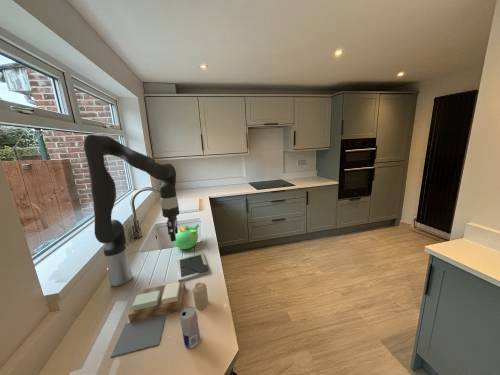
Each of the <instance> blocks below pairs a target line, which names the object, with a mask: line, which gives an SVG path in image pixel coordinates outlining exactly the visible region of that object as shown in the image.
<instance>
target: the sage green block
mask: <svg viewBox="0 0 500 375" xmlns="http://www.w3.org/2000/svg"><path fill="white" fill-rule="evenodd" d="M136 296H137V297H135V298H134V301H133V303H132V305H131V307H133V311H135V310H140V309H144V308H149V307H153V306H157V305H158V302H159V298H160V290H159V291H154V292H150V293H145V294H140V295H137V294H136Z"/></svg>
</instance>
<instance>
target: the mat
mask: <svg viewBox="0 0 500 375" xmlns="http://www.w3.org/2000/svg"><path fill="white" fill-rule="evenodd" d="M166 317H167V315H166V314H164V315H160V316H155V317H151V318H147V319H142V320H138V321H134V322H130V321H129V322H126V323H125V324H124V326H123V328H122V331H121V333H120V334H119V338H118V339H117V341H116V345H115V346H114V348H113V350H112V352H111V355H110V358H114V357H115V358H116V357H118V356H122V354H123V355H127V354H130V353H129V352H131V353H134V352H137V350H138V351H141V349H142V350H144V349H145V350H146V349H149V348H153V347H157V346H159V345H160V341H161V337H162V333H163V331H164V330H163V329H164V324H165V320H166ZM133 351H134V352H133ZM126 353H127V354H126Z"/></svg>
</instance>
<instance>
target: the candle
mask: <svg viewBox="0 0 500 375" xmlns="http://www.w3.org/2000/svg"><path fill="white" fill-rule="evenodd" d="M207 288H208V287H207V284H206V283H204V282H197V283H196V284H195V285H193V287H192V293H193V298H194V299H193V300H194V305H195V309H197V310H199V311H201V310H205V309H206V308H207V307H208V305H209V296H208V289H207Z"/></svg>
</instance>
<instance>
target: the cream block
mask: <svg viewBox="0 0 500 375" xmlns="http://www.w3.org/2000/svg"><path fill="white" fill-rule="evenodd" d="M165 285H166V286H165V289H164V293H163V296H162V304H167V303H171V302H176V301H178V297H179V291H180V282H178V281H177V282H173V283H168V284H165Z"/></svg>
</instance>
